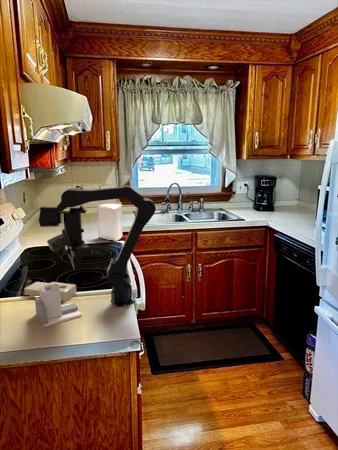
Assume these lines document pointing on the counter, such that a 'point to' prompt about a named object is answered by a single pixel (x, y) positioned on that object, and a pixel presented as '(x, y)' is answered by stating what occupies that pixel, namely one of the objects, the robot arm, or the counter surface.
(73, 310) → the board
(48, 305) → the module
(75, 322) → the counter surface
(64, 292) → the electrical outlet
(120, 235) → the pale rounded upright block
